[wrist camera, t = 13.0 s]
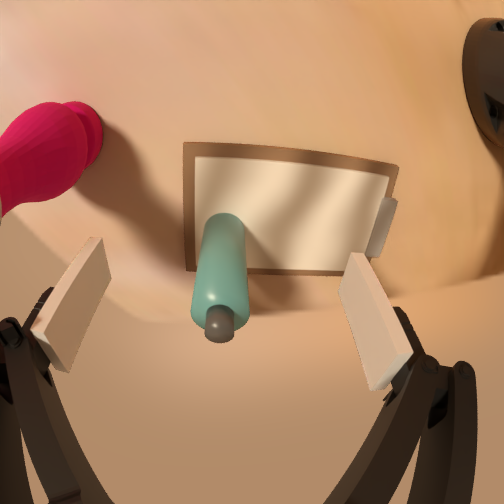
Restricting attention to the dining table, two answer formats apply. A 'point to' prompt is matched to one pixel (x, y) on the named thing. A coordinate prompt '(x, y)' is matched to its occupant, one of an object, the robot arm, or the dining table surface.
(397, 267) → the dining table surface
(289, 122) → the dining table surface
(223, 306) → the bottle
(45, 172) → the pepper mill
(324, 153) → the clipboard
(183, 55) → the dining table surface
